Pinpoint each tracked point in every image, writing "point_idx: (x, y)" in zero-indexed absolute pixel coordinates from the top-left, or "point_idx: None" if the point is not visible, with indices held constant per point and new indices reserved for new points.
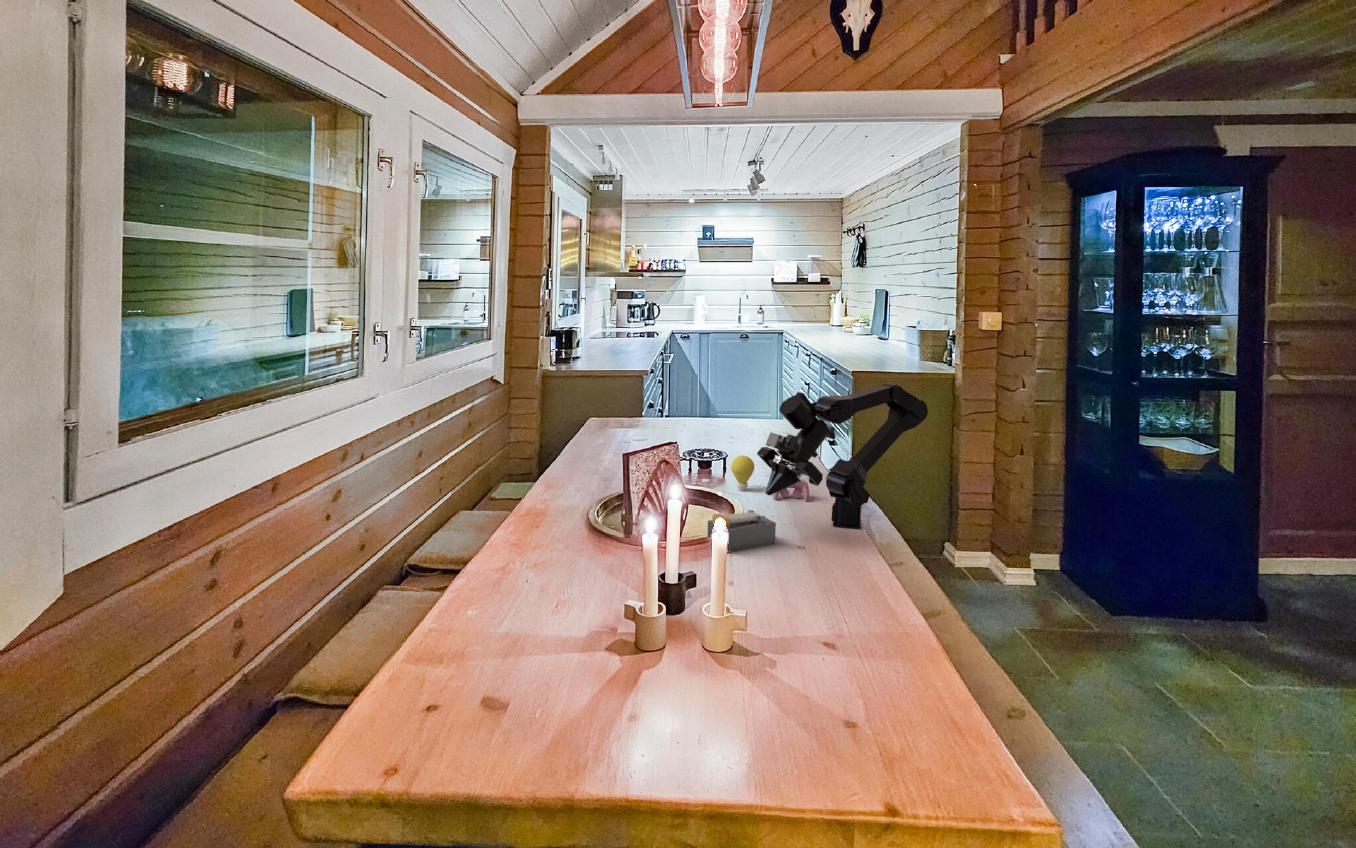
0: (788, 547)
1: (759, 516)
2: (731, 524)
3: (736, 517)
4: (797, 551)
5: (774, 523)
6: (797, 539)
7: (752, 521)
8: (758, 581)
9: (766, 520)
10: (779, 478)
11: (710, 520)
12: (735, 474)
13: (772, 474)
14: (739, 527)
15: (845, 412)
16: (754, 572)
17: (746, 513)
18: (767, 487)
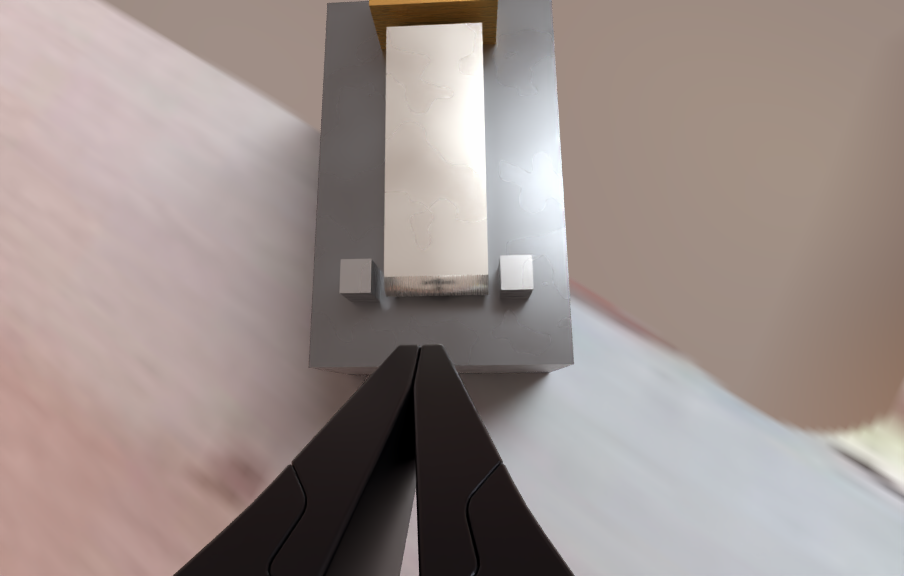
0: (273, 413)
1: (386, 269)
2: None
3: (399, 79)
4: (201, 420)
5: (309, 355)
6: None
7: None
8: (30, 53)
9: (383, 334)
10: (233, 532)
11: (547, 6)
12: None
13: (485, 540)
14: (345, 97)
15: None
16: (109, 85)
17: (469, 203)
18: (438, 375)
